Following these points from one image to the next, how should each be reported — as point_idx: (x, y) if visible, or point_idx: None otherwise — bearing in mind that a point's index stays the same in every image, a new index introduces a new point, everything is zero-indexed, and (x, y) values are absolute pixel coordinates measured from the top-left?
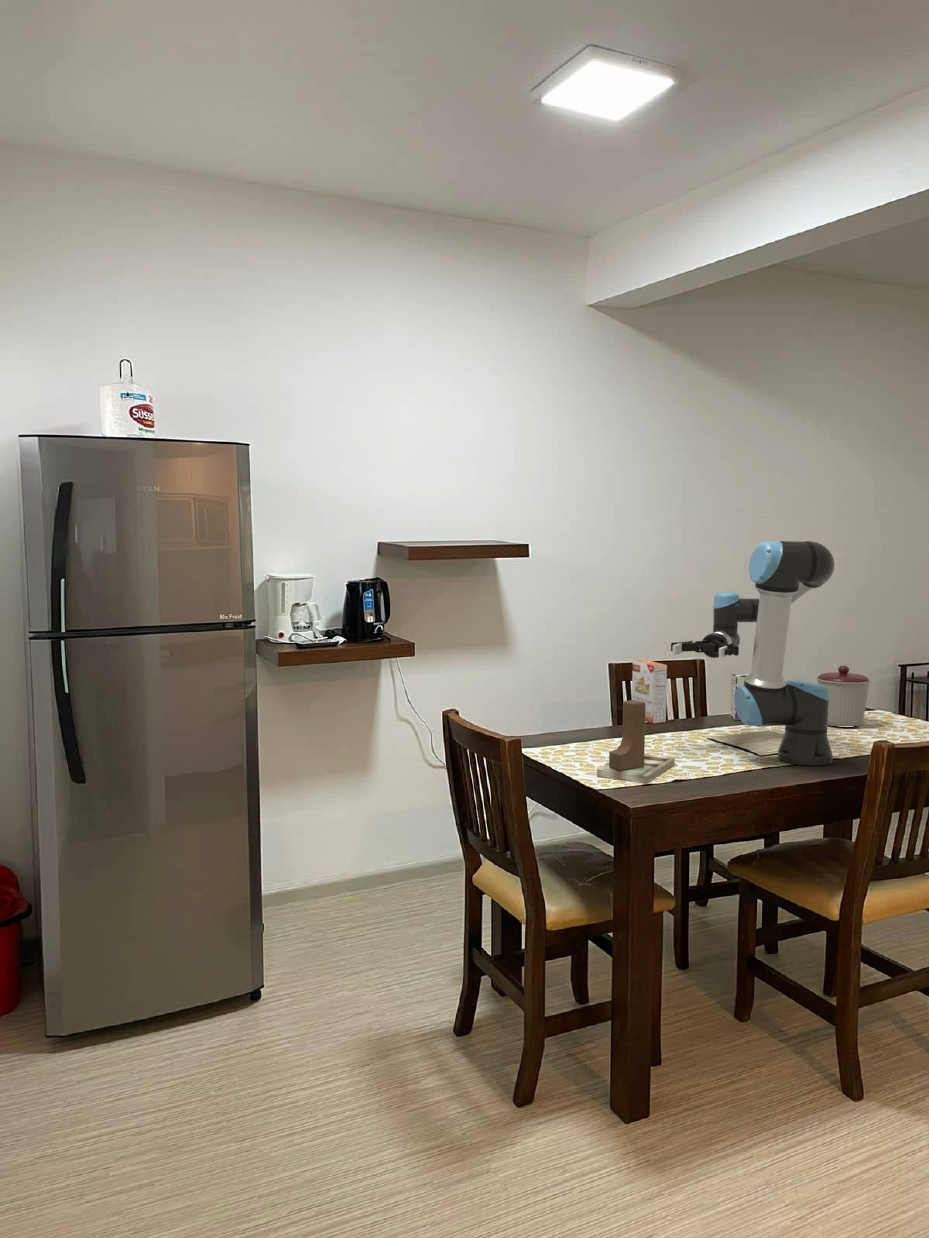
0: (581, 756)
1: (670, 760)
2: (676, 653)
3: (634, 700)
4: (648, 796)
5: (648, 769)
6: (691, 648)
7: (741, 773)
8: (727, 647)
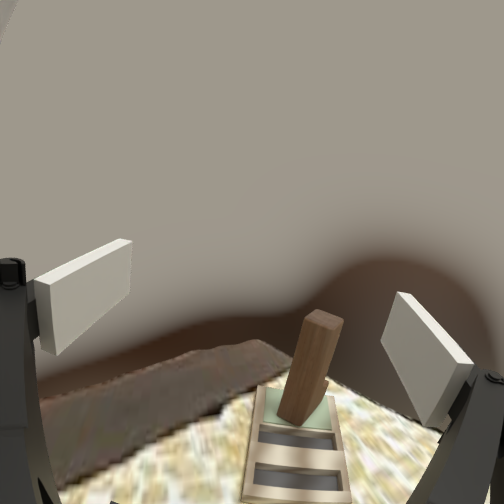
0: None
1: (246, 474)
2: (389, 351)
3: (330, 323)
4: (238, 355)
5: (264, 406)
6: (419, 491)
7: (98, 462)
8: (26, 297)
